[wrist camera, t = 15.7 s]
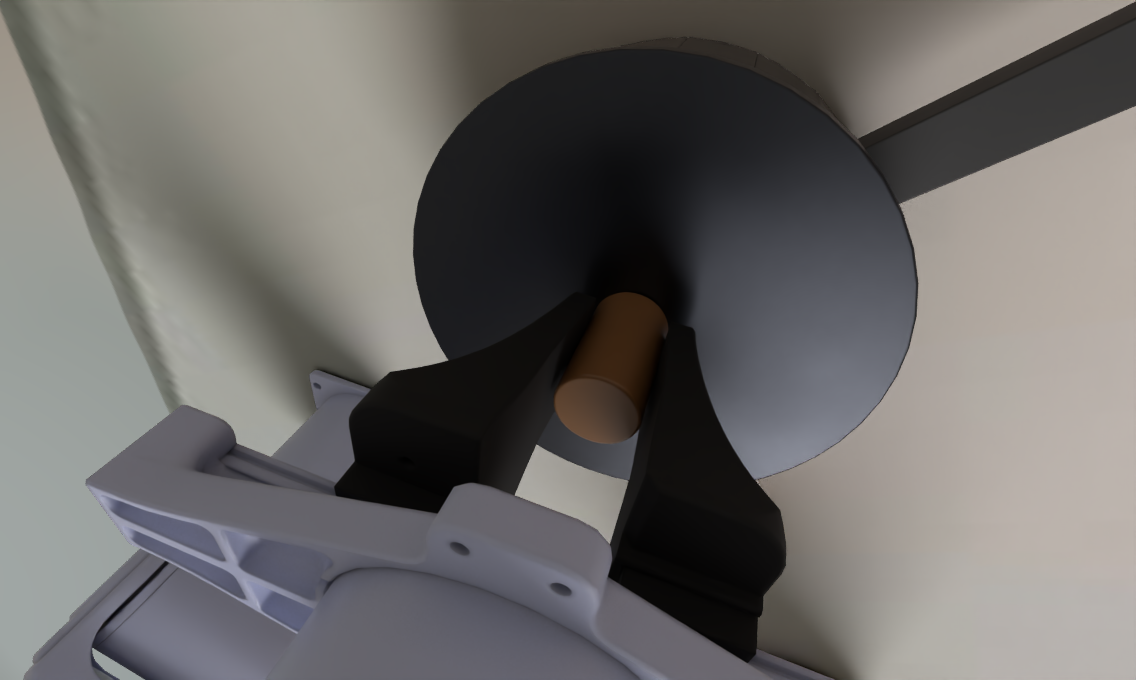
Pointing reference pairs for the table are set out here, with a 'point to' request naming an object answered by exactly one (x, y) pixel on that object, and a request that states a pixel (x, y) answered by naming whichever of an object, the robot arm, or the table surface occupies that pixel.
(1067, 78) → the pan handle
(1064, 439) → the table surface
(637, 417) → the pan lid
